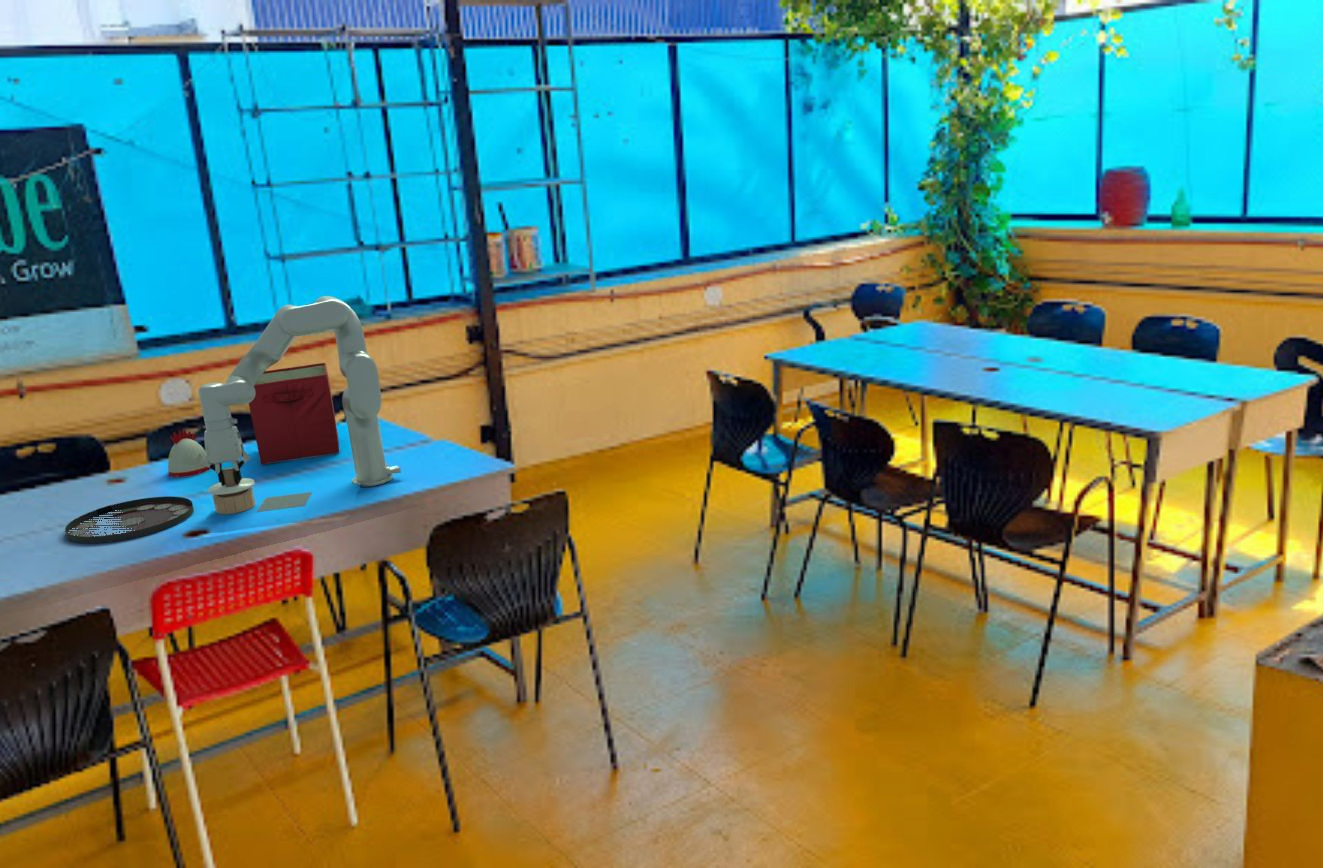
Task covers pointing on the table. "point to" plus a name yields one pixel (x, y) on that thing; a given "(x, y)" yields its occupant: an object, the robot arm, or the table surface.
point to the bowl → (234, 502)
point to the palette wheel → (132, 518)
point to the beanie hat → (186, 456)
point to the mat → (284, 501)
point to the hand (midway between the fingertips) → (231, 483)
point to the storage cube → (294, 414)
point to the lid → (230, 484)
